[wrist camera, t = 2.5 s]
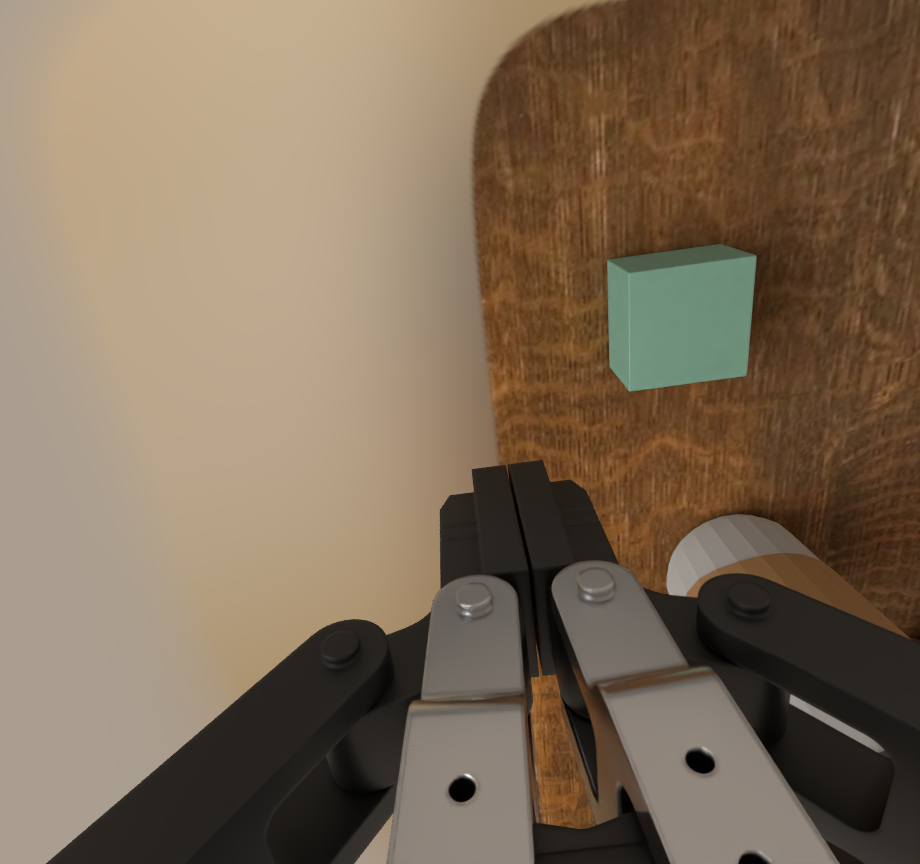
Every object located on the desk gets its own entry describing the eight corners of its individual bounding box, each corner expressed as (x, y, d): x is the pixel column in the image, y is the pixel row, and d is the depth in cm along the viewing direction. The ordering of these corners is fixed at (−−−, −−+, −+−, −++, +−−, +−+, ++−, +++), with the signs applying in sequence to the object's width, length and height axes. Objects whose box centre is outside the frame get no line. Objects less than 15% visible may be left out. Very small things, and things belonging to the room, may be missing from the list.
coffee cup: (683, 474, 27) (933, 797, 14) (844, 510, 28) (1219, 840, 15) (617, 613, 31) (764, 983, 17) (762, 640, 32) (1008, 1005, 18)
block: (606, 259, 23) (628, 273, 20) (721, 243, 23) (757, 255, 20) (609, 367, 25) (629, 392, 22) (715, 352, 25) (747, 376, 22)
